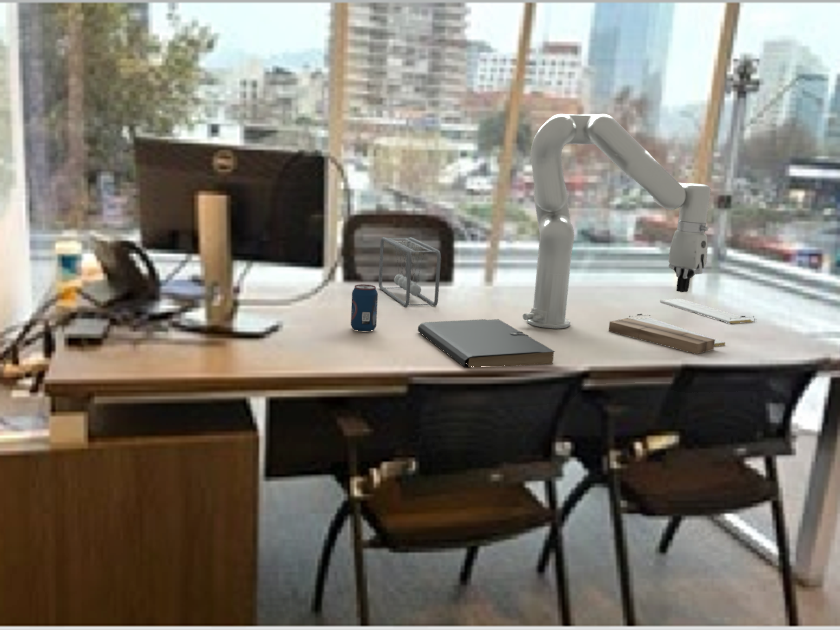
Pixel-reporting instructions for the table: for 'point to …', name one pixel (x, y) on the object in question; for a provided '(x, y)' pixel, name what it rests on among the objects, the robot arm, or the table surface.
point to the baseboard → (673, 327)
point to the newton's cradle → (409, 271)
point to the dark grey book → (486, 343)
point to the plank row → (662, 335)
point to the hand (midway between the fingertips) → (682, 291)
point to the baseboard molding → (706, 311)
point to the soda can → (364, 307)
